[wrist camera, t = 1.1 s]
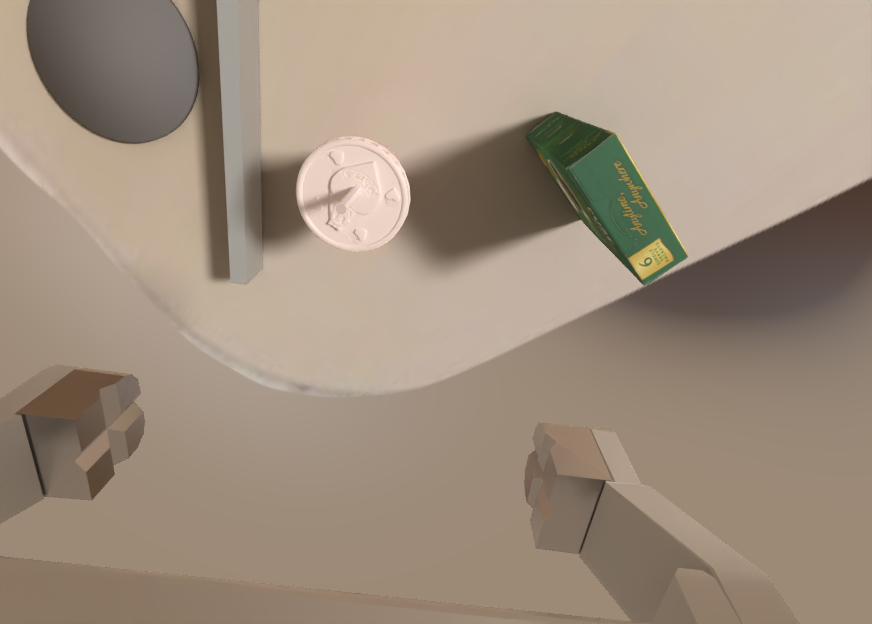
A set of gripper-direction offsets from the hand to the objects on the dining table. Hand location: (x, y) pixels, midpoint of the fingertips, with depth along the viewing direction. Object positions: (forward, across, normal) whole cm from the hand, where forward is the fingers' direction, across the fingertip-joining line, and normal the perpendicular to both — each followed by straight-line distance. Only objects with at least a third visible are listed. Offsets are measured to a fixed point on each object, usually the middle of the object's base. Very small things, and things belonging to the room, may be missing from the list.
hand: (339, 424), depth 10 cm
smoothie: (+29, +3, -1) cm, 29 cm away
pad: (+29, +21, -6) cm, 36 cm away
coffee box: (+29, -11, -2) cm, 31 cm away
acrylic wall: (+29, +12, -3) cm, 31 cm away
